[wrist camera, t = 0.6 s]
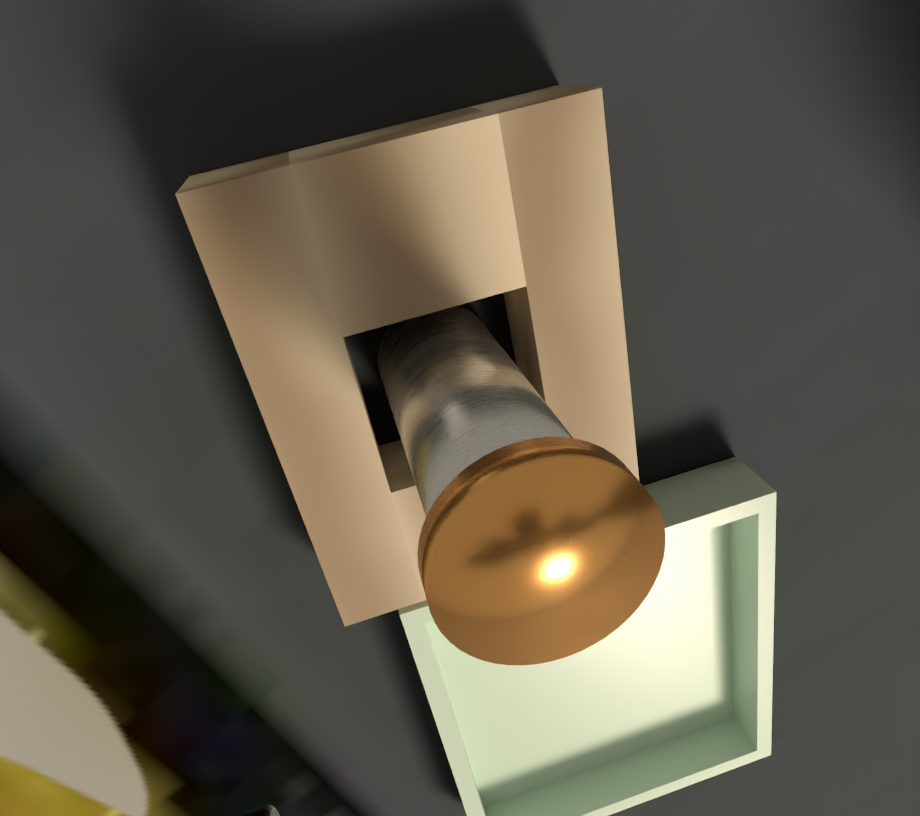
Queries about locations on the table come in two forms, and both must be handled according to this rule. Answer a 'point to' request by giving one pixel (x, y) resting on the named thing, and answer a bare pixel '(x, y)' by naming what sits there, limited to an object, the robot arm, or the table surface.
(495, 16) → the table surface
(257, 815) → the robot arm
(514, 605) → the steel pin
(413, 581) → the block
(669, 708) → the tray
